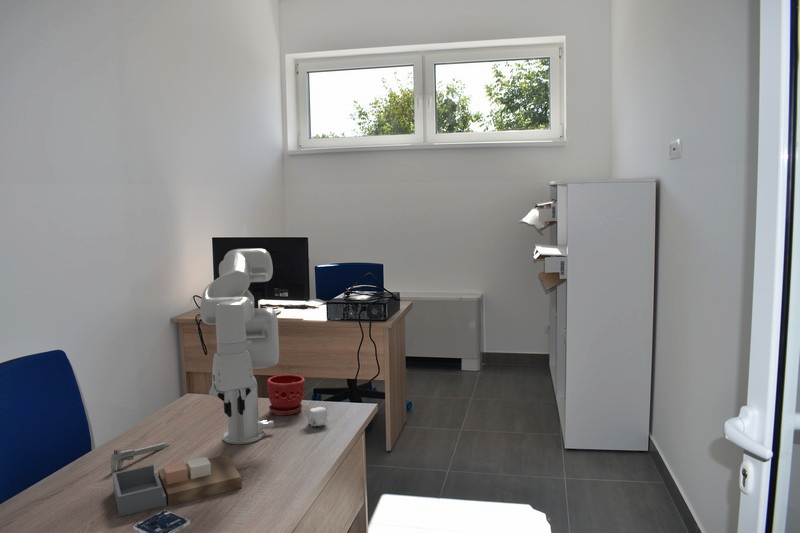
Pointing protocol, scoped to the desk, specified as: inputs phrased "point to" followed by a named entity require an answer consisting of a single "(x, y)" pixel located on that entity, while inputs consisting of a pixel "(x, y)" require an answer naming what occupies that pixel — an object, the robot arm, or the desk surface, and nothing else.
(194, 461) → the tile cream
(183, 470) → the tile terracotta
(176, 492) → the plate
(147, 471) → the box
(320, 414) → the elephant figurine
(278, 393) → the plant pot
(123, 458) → the caliper
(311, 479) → the desk surface
